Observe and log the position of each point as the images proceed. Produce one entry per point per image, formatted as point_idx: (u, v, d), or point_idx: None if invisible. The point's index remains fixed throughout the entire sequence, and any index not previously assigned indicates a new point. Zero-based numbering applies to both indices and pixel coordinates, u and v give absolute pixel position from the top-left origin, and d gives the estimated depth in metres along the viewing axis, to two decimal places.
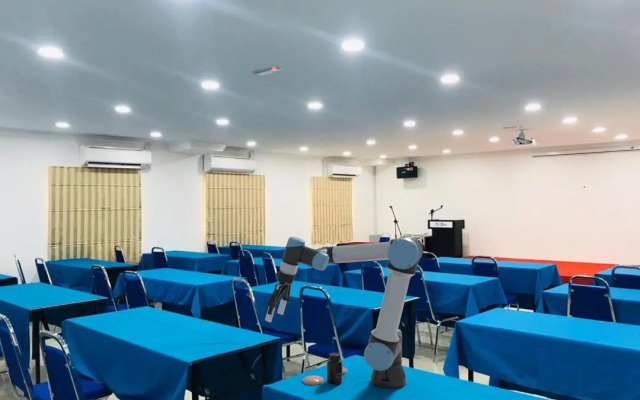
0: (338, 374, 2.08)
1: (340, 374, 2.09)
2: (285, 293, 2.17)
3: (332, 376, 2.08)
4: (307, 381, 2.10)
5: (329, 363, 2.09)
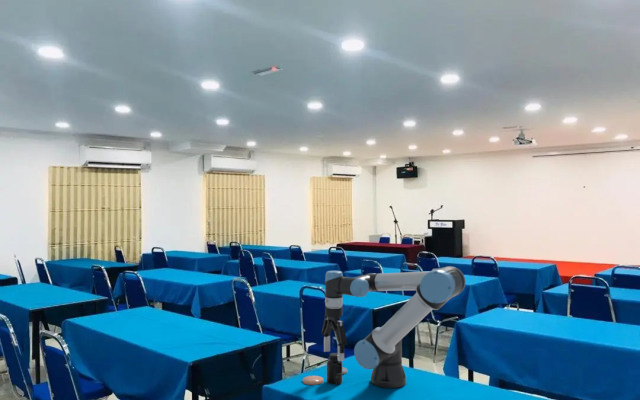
0: (338, 374, 2.08)
1: (340, 374, 2.09)
2: (331, 328, 2.15)
3: (332, 376, 2.08)
4: (307, 381, 2.10)
5: (329, 363, 2.09)
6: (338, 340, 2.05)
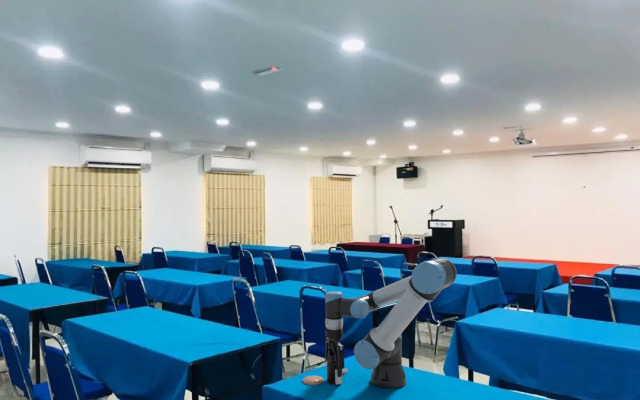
0: None
1: None
2: (333, 352, 2.14)
3: (332, 376, 2.08)
4: (307, 381, 2.10)
5: (329, 363, 2.09)
6: (336, 364, 2.07)
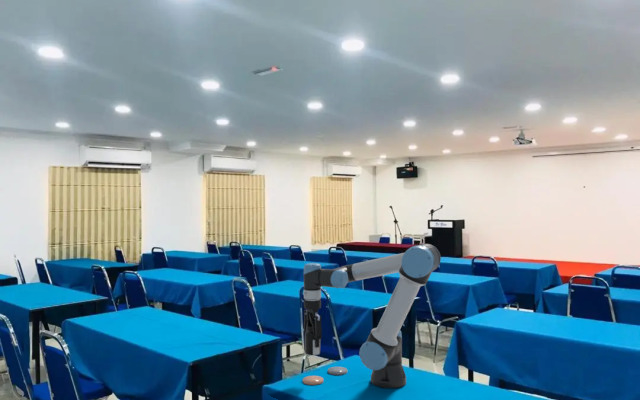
0: None
1: None
2: (311, 323, 2.15)
3: (309, 347, 2.09)
4: (307, 381, 2.10)
5: (307, 334, 2.10)
6: (314, 334, 2.08)
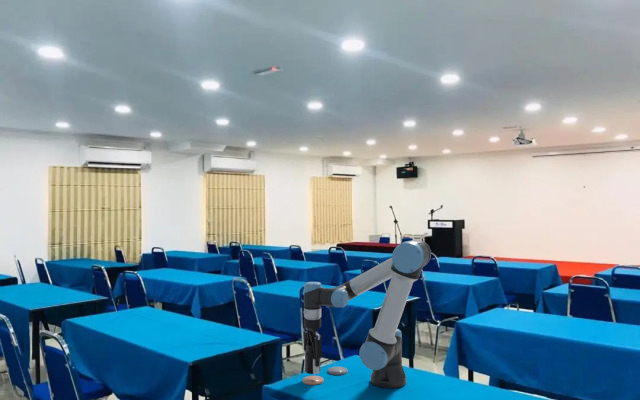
0: None
1: None
2: None
3: (309, 366, 2.09)
4: (307, 381, 2.10)
5: (307, 353, 2.10)
6: (314, 353, 2.08)
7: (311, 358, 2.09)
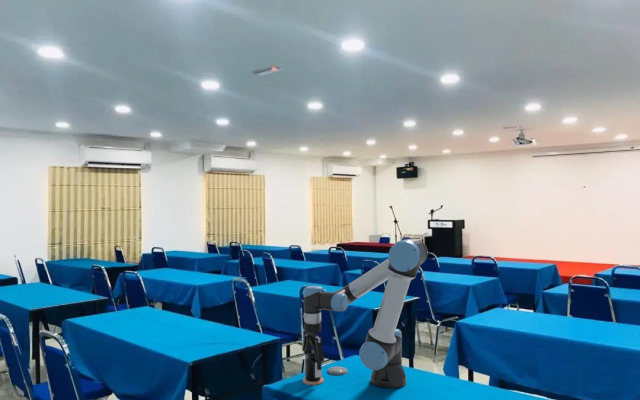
0: None
1: None
2: (311, 344, 2.16)
3: (310, 373, 2.09)
4: (307, 381, 2.10)
5: (307, 360, 2.10)
6: (315, 357, 2.06)
7: (311, 366, 2.09)
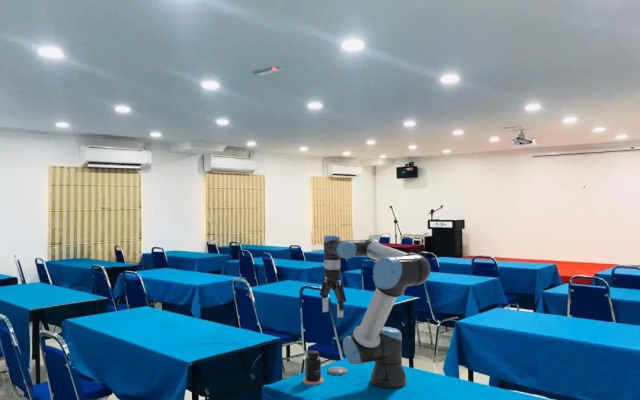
0: (317, 372, 2.09)
1: (318, 371, 2.10)
2: (329, 290, 2.30)
3: (310, 373, 2.09)
4: (307, 381, 2.10)
5: (307, 360, 2.10)
6: (337, 298, 2.20)
7: (311, 366, 2.09)
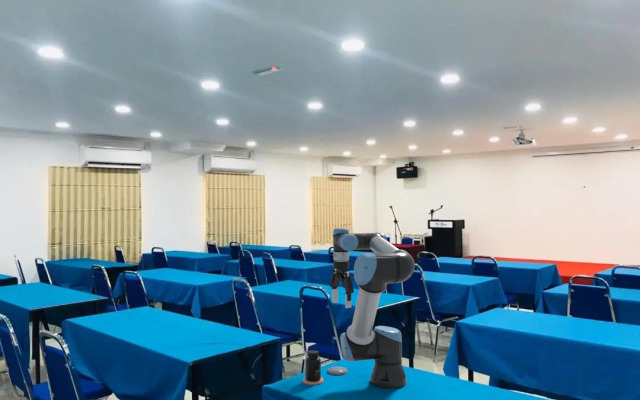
0: (317, 372, 2.09)
1: (318, 371, 2.10)
2: (338, 281, 2.37)
3: (310, 373, 2.09)
4: (307, 381, 2.10)
5: (307, 360, 2.10)
6: (345, 289, 2.26)
7: (311, 366, 2.09)
